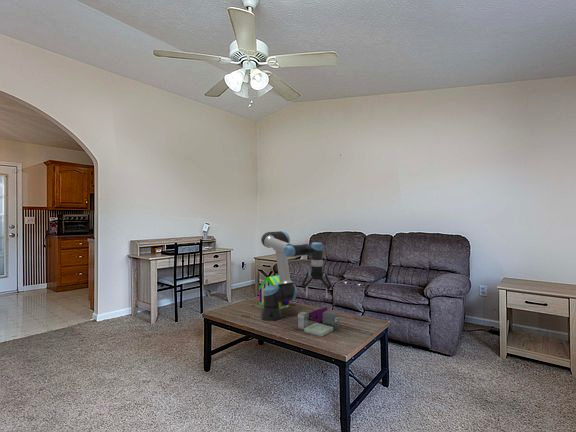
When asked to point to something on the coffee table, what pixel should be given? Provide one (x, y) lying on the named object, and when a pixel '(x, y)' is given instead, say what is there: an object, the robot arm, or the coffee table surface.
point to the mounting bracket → (318, 314)
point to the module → (303, 320)
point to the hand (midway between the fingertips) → (316, 297)
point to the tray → (318, 329)
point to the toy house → (269, 281)
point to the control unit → (330, 319)
